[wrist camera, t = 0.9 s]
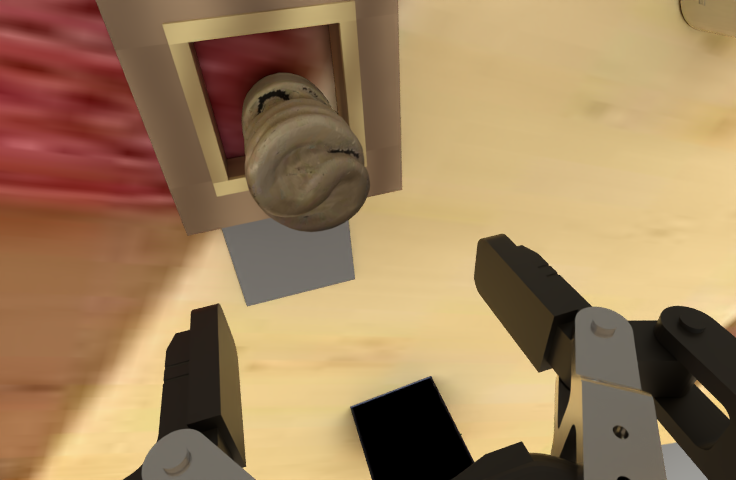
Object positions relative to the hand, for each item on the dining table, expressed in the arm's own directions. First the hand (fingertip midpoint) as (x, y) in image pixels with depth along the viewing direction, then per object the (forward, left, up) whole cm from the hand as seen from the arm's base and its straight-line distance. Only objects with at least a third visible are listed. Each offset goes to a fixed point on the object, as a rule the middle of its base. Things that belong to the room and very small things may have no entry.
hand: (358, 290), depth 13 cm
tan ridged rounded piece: (0, 0, -21) cm, 21 cm away
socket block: (0, 0, -21) cm, 21 cm away
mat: (+1, +13, -21) cm, 25 cm away
